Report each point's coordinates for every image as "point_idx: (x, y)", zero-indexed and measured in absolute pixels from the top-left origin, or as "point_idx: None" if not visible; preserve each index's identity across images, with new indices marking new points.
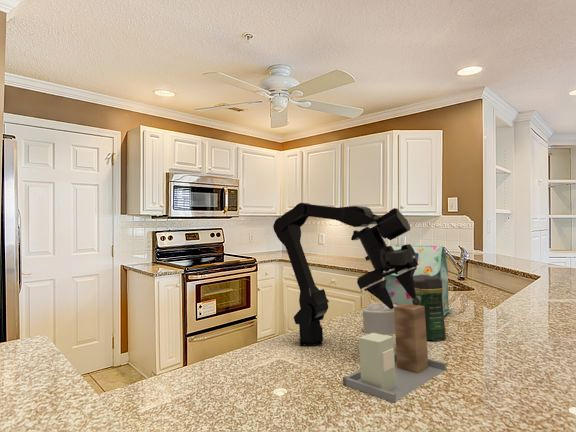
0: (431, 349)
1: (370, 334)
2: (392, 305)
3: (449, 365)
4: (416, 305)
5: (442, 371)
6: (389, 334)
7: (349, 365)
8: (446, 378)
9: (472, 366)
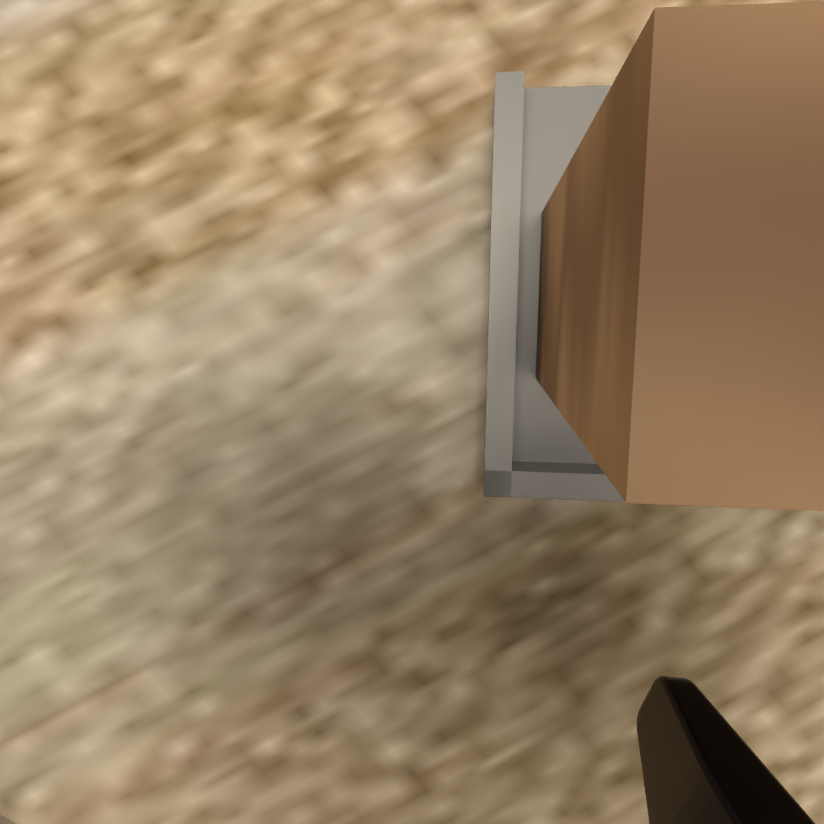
0: (111, 406)
1: None
2: (705, 714)
3: (350, 143)
4: (680, 199)
5: (555, 91)
6: (3, 818)
7: (814, 700)
8: (612, 40)
9: (261, 4)
